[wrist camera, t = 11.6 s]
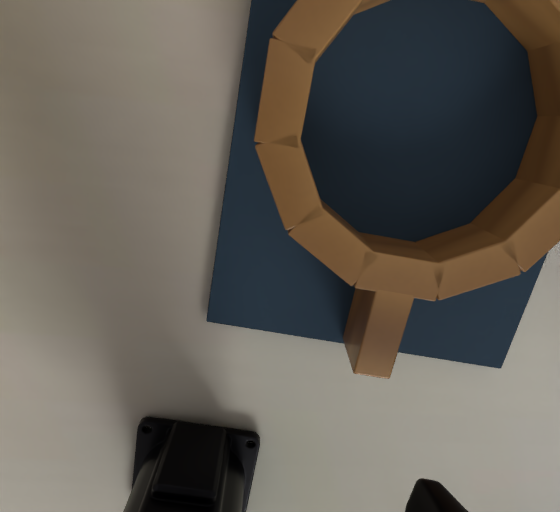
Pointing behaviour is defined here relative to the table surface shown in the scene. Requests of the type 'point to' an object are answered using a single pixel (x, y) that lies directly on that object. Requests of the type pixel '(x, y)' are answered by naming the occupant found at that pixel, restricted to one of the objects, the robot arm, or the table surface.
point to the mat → (383, 170)
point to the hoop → (395, 252)
